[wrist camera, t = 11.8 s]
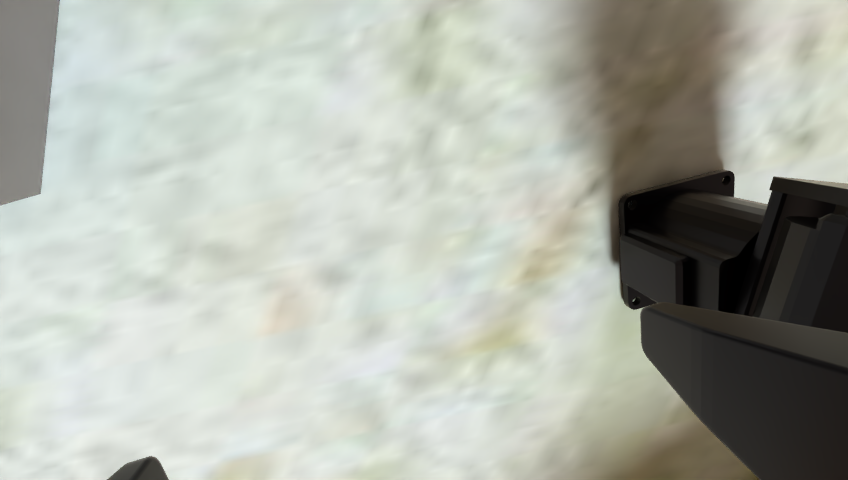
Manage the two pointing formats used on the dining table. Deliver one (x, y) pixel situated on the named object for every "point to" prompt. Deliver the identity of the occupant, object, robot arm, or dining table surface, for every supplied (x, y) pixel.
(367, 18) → the dining table surface
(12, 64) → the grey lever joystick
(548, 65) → the dining table surface
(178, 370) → the dining table surface
